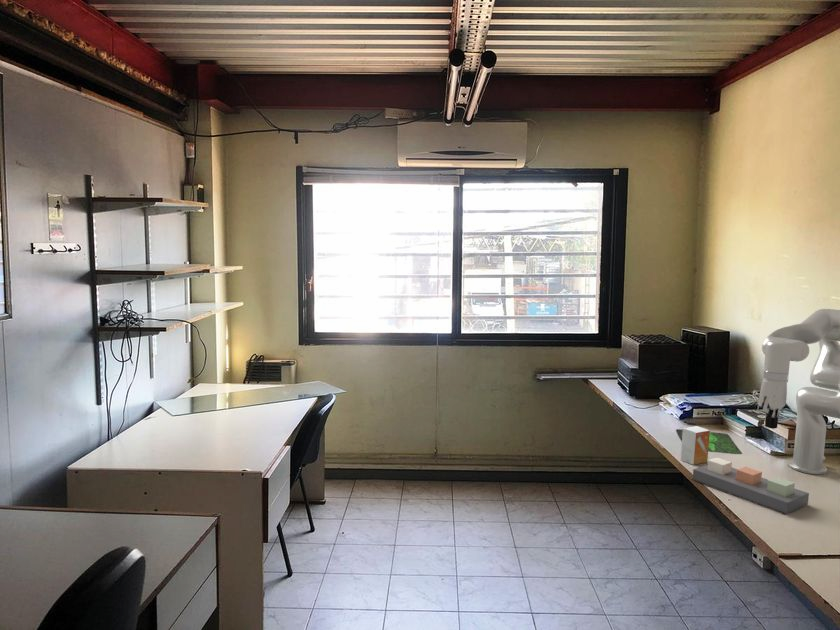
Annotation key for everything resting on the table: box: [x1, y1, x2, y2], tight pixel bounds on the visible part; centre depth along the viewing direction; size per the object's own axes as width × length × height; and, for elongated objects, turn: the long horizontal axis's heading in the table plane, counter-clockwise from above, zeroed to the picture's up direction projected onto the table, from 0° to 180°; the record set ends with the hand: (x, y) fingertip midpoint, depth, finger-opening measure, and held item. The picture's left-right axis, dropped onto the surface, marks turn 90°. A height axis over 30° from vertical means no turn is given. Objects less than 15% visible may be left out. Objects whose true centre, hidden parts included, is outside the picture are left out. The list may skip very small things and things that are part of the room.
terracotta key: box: [736, 466, 763, 486], centre depth 203 cm, size 6×6×5 cm
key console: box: [692, 464, 810, 515], centre depth 203 cm, size 14×32×4 cm, turn 33°
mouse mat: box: [675, 428, 743, 455], centre depth 256 cm, size 27×22×1 cm
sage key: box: [767, 476, 795, 497], centre depth 194 cm, size 6×6×5 cm
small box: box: [679, 425, 711, 466], centre depth 231 cm, size 8×6×13 cm
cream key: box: [707, 456, 733, 475], centre depth 212 cm, size 6×6×5 cm
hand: (771, 427), depth 207 cm, fingers closed
